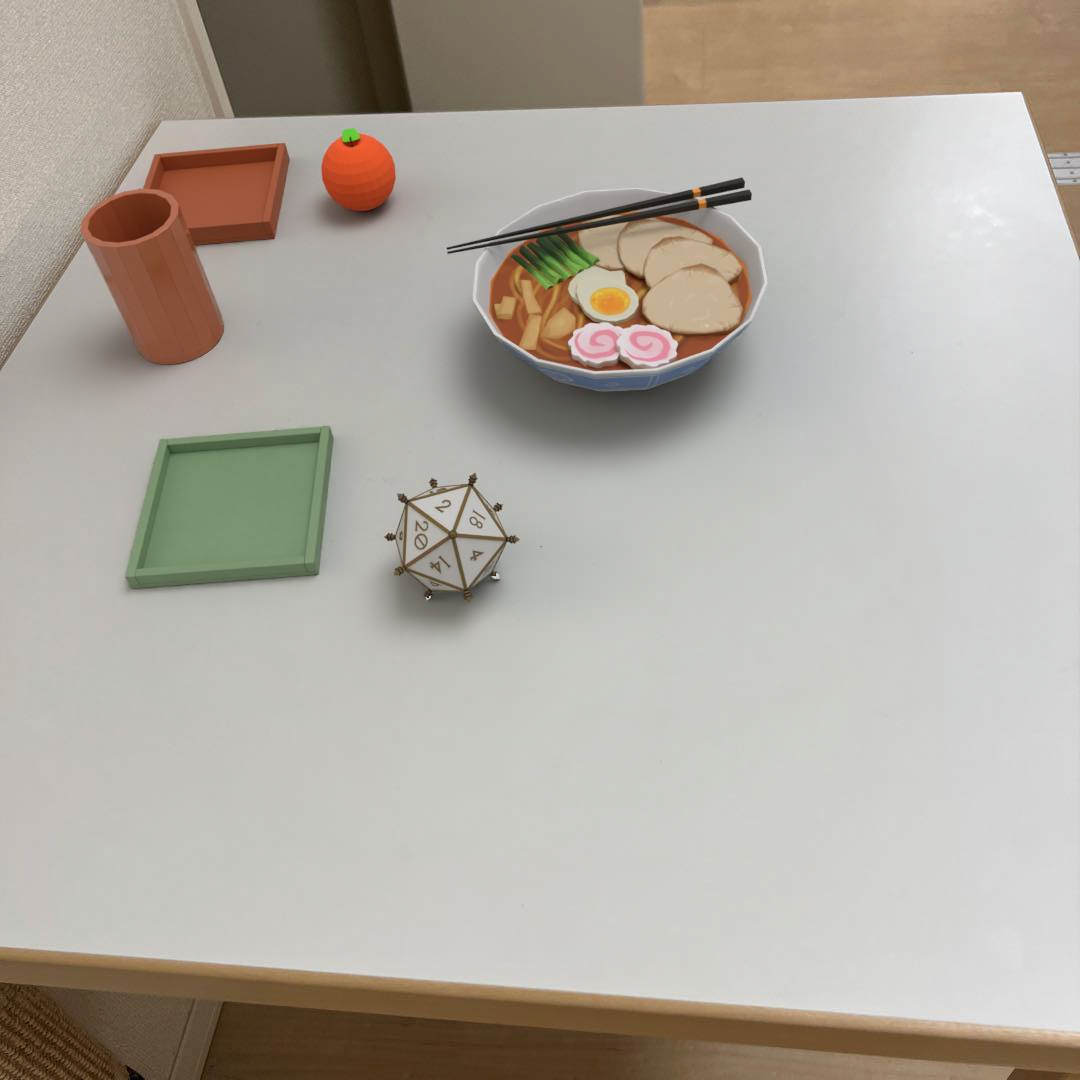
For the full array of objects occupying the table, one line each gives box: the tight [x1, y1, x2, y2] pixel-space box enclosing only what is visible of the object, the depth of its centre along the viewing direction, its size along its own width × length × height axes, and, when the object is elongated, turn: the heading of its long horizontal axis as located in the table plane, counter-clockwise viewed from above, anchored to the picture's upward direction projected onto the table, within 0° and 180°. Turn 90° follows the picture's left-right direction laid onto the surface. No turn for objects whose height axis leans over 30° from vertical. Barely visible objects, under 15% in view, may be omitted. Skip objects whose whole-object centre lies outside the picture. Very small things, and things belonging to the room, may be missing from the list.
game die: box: [383, 472, 521, 604], centre depth 71 cm, size 9×8×10 cm
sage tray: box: [124, 425, 335, 589], centre depth 79 cm, size 13×13×1 cm
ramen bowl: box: [446, 176, 769, 393], centre depth 85 cm, size 25×23×8 cm
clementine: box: [320, 127, 397, 212], centre depth 101 cm, size 8×7×7 cm
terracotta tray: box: [142, 142, 291, 246], centre depth 104 cm, size 13×13×2 cm
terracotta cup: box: [79, 188, 225, 365], centre depth 88 cm, size 8×8×12 cm
